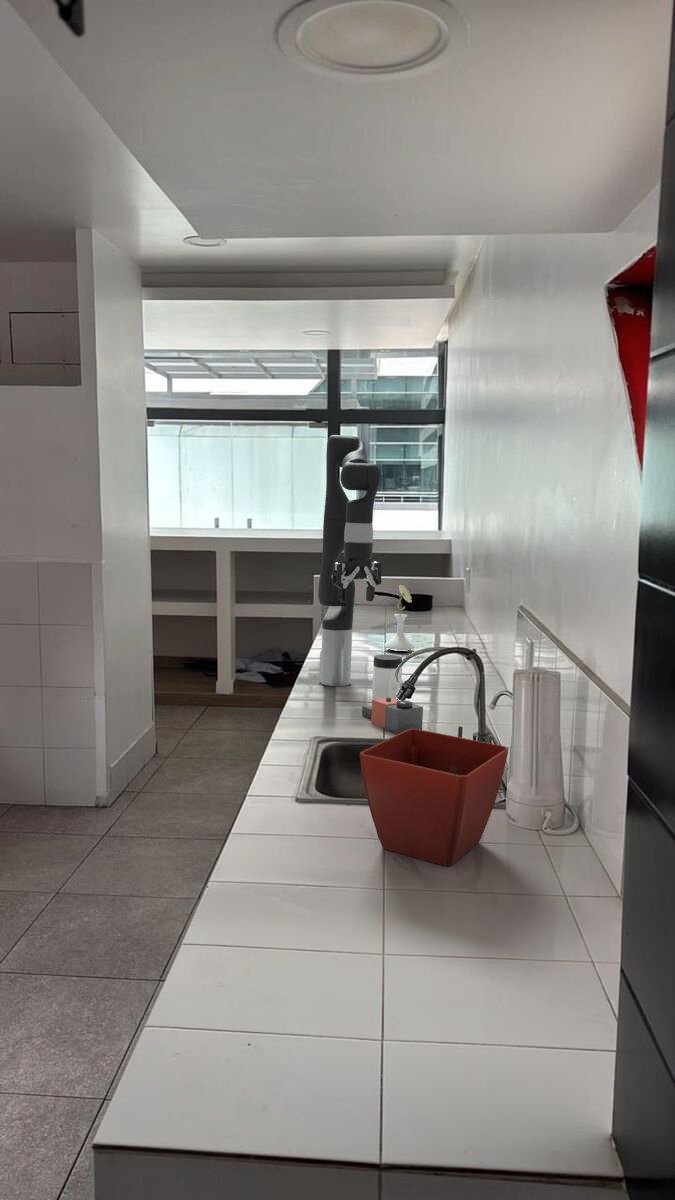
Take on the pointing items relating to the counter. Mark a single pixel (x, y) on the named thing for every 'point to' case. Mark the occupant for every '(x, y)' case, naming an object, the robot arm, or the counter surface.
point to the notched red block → (381, 709)
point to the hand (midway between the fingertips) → (356, 601)
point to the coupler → (399, 716)
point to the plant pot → (431, 792)
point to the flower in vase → (401, 626)
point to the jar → (386, 676)
